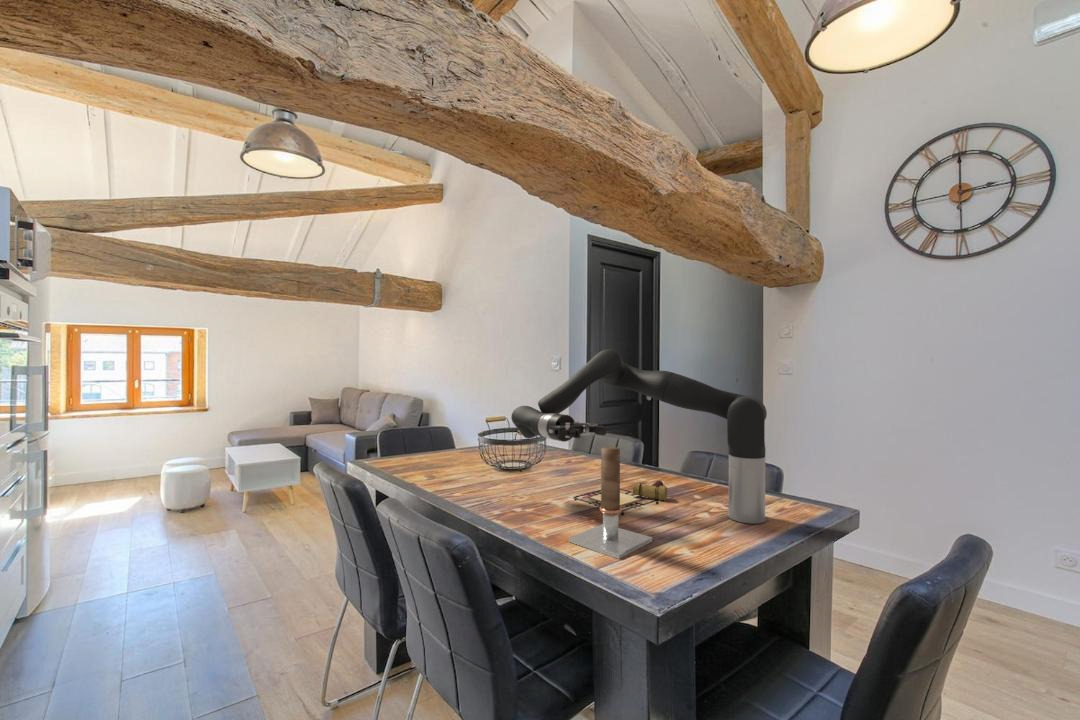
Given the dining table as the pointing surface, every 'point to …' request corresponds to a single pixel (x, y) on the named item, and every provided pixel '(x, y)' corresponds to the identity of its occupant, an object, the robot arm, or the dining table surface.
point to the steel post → (611, 537)
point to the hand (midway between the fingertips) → (592, 432)
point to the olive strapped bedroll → (651, 490)
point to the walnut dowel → (610, 478)
